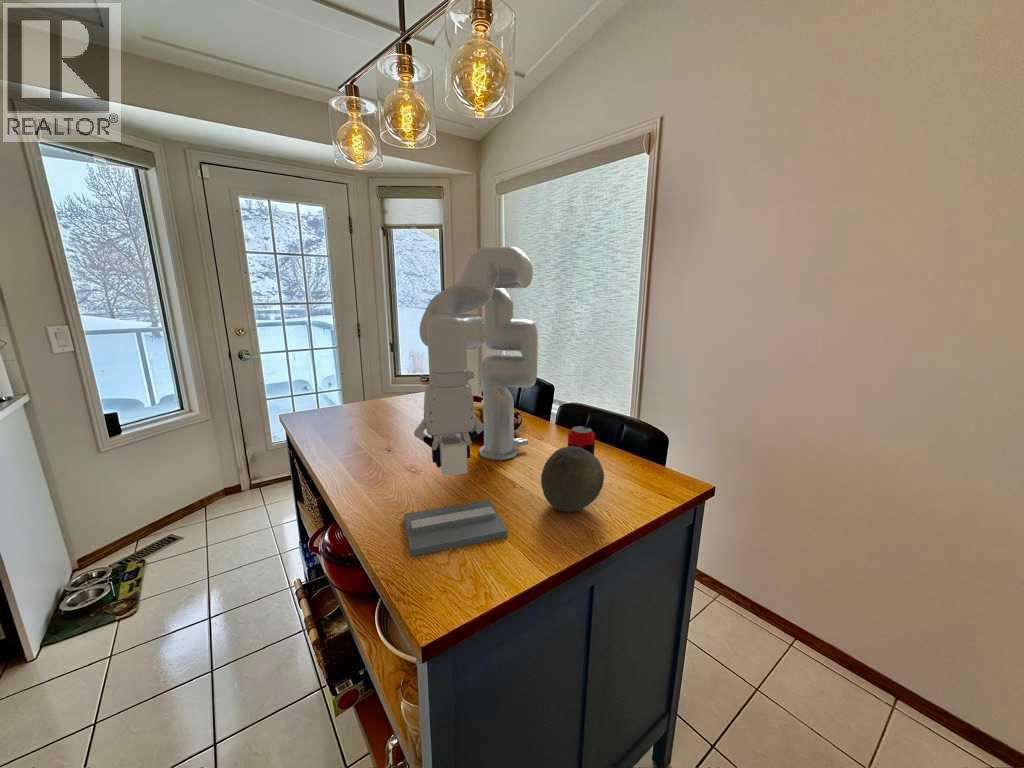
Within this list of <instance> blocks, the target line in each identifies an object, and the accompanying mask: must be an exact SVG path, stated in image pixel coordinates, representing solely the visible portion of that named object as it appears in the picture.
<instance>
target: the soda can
mask: <svg viewBox="0 0 1024 768" xmlns="http://www.w3.org/2000/svg"><path fill="white" fill-rule="evenodd" d="M595 442H596V434H595V433H594V431H593V429H592V428H590V427H587V426H580V425H579V426H573V427H572V428H571V429H570V430H569V431H568V433H567V447H568V446H576V447H581V448H583V449H585V450H587V451H588V452H590V453H591V454H593V455H594V456H595Z"/></svg>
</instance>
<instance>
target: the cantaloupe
mask: <svg viewBox="0 0 1024 768" xmlns="http://www.w3.org/2000/svg"><path fill="white" fill-rule="evenodd" d="M604 481H605V473H604V469H603V466H602V464H601V462H600V460H599V459H598V458H597V457H596V456H595V454H594V455H593V454H591V453H590V452H588V451H587V450H585V449H583V448H581V447H576V446H568V445H567V446H564V447H561V448H559V449H557V450H555V451H554V452H553V453H552V454H551V455H550V456H549V458H547V460H546V461H545V464H544V466H543V468H542V472H541V477H540V484H541V488H542V492H543V496H544V498H545V499H546V501H547V502H548V504H550V505H551V506H552V507H553V508H554V509H556V510H558V511H561V512H565V513H566V512H567V513H569V512H570V513H572V512H577V511H580V510H583V509H585V508H586V507H588V506H590V504H592V503H593V502H594V501H595V500H596V499H597V497H598V496H599V494H600V493H601V490H602V488H603V484H604Z"/></svg>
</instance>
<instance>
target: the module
mask: <svg viewBox="0 0 1024 768" xmlns="http://www.w3.org/2000/svg"><path fill="white" fill-rule="evenodd" d="M438 445H439V449H440V462H441V467H440V469H441V475H442V477H450V476H456V475H462V474H468V464H467V445H466V443H465V442H464V440H463V437H462V435H461V433H459V434H450V435H441V436H440V440H439V444H438Z"/></svg>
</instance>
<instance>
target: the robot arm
mask: <svg viewBox="0 0 1024 768" xmlns="http://www.w3.org/2000/svg"><path fill="white" fill-rule="evenodd" d="M533 275H534V271H533V265H532V262H531V260H530V258H529V257H528V256H527V254H525V252H524V251H523V250H521V249H520V248H518V247H515V246H496V247H495V246H494V247H490V246H489V247H487V246H486V247H479V248H477V249H475V250H474V251H472V252H471V254H470V256H469V258H468V260H467V262H466V264H465V267H464V269H463V272H462V273H461V277H460V279H459V281H457V282H455V283H453V284H451V285H450V286H448V287H446V288H444V289H443V290H442V291H440V292H438V293H437V294H436V295H435V296H433V298H431V299H430V301H429V303H428V304H427V307H426V309H425V311H424V313H423V315H422V317H421V320H420V323H419V338H420V340H421V342H422V344H423V345H425V346H426V347H427V350H428V351H427V355H428V375H429V378H428V379H429V384H427V385H425V387H424V388H425V389H424V398H423V419H422V421H420V423H419V424H418V426H417V427H416V428H415V430H414V431H413V435H414V437H415V438H417V439H418V440H420V441H423V443H425V445H427V446H428V447H430V448H431V456H432V457H431V459H432V460H431V461H432V463H433V464H435V465H436V468H437V469H438V468H439V469H441V462H440V449H439V445H438V444H439V440H440V436H441V435H450V434H460V435H461V437H462V439H463V440H464V442H465V443H466V445H467V465H468V463H469V462H468V459H470V458H471V450H470V449H471V447H470V446H471V445H472V443H473V441H474V440H475V439H476V438H477V437H478V435H480V434H481V433H482V432H483V445H482V446H481V447H479V456H481V457H482V458H484V459H487V460H492V461H504V460H510V459H513V458H515V457H516V456H518V455H519V452H520V451H519V447H521V446H522V447H525V446H529V440H528V439H523V438H522V437H517V438H515V434H514V433H515V428H514V427H515V424H514V422H515V421H514V419H515V413H514V411H515V410H514V409H515V407H514V406H515V403H514V397H513V395H512V393H511V392H510V390H509V389H508V387H510V388H532V387H533V386H535V384H536V382H537V377H538V347H539V346H538V345H539V344H538V343H539V342H538V338H539V337H538V328H537V326H536V323H535V322H534V321H532V320H530V319H517V318H516V319H515V318H514V302H513V299H512V298H511V296H510V294H508V292H507V291H506V289H527V288H528V287H529V286H530V285H531V284H532V283H531V282H532V281H533ZM481 307H484V318H482V316H479V315H478V314H473V313H467V312H471V311H474V310H476V309H479V308H481ZM484 343H485V346H486V347H487V348H488V349H490V350H492V351H501V352H519V353H521V355H508V354H501V355H500V354H492V355H487V356H486V357H484V358H483V359H481V361H480V364H479V374H480V375H479V376H480V379H481V387H482V396H483V397H482V399H483V422H482V420H480V419H479V418H478V416H476V411H475V402H474V395H473V391H472V386H471V384H470V382H469V381H470V380H471V379H474V378H475V372H474V371H469V370H468V361H467V360H468V359H467V354H468V353H467V350H476V349H479V348H480V347H481V346H483V345H484ZM425 430H426V433H427V434H425V433H424V432H425ZM430 436H431V437H430Z"/></svg>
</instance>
